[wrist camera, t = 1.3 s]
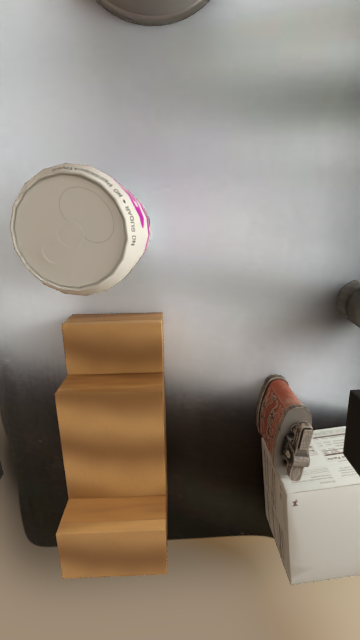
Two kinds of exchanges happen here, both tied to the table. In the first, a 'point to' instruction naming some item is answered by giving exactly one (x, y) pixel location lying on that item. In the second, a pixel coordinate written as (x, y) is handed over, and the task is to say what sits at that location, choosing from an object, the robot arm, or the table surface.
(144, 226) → the supplement can
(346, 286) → the beverage cup
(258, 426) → the lighter
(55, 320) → the table surface
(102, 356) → the step shelf
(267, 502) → the supplement box
